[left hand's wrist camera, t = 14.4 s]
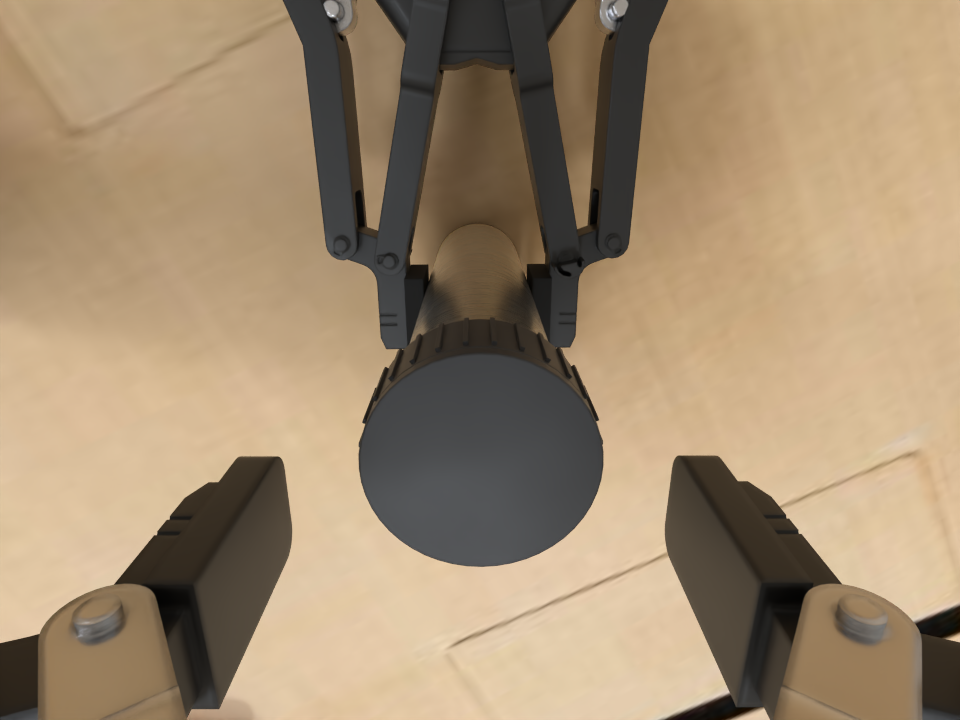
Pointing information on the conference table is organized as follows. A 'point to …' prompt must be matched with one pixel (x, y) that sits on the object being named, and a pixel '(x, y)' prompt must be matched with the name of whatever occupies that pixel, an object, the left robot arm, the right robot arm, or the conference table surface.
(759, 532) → the left robot arm
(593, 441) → the lid
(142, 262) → the conference table surface
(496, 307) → the tan cylinder
